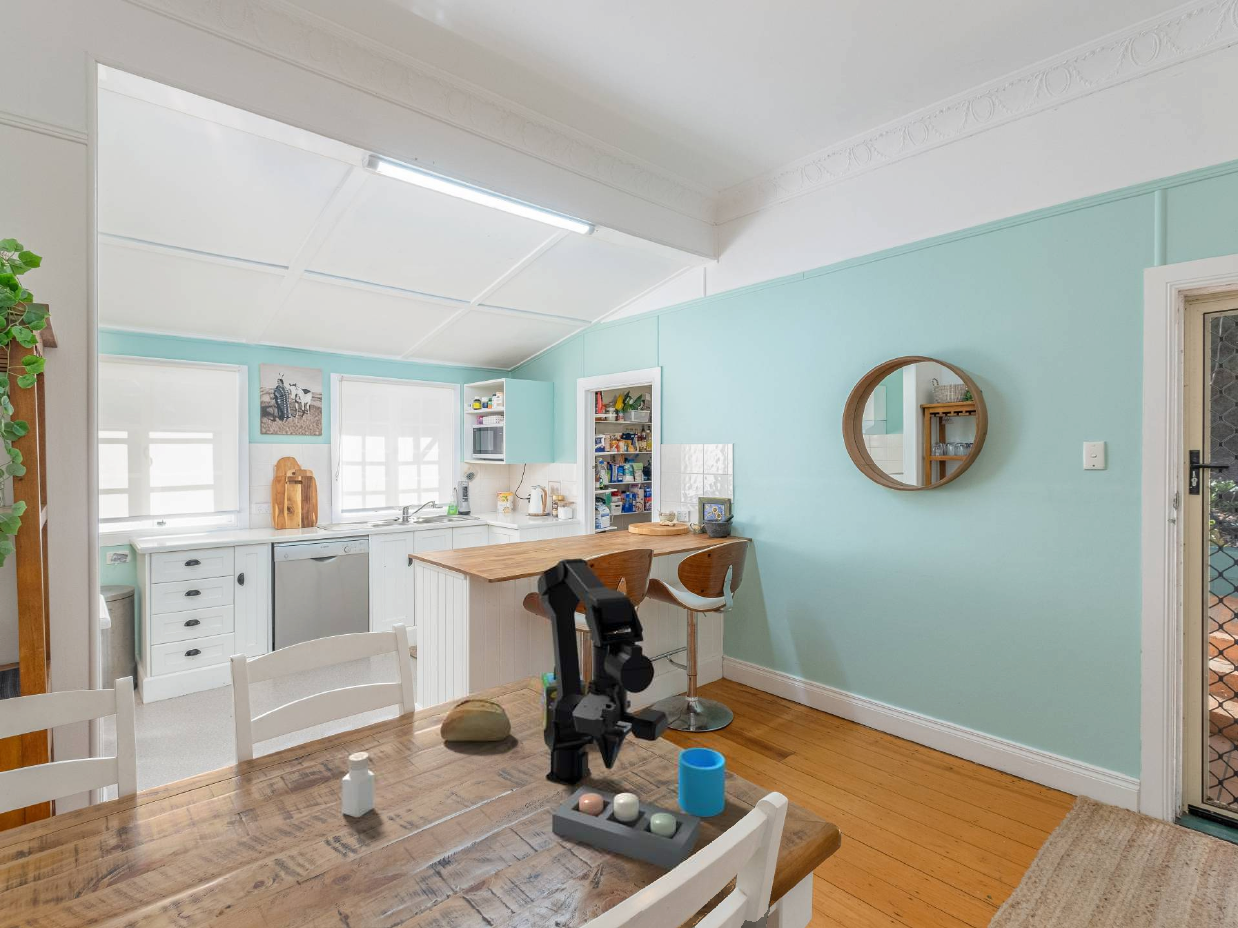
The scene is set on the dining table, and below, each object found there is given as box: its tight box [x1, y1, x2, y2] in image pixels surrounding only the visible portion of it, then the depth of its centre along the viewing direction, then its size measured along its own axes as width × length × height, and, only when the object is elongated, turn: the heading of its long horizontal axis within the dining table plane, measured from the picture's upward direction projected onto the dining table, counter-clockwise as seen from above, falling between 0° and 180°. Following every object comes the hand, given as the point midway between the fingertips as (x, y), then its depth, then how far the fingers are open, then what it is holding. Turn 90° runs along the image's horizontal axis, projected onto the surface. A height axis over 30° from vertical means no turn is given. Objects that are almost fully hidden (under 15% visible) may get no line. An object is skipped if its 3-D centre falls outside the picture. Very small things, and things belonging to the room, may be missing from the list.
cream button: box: [614, 792, 640, 821], centre depth 102 cm, size 4×4×2 cm
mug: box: [677, 747, 726, 818], centre depth 114 cm, size 12×8×8 cm
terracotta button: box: [579, 793, 603, 817], centre depth 105 cm, size 4×4×2 cm
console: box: [551, 785, 701, 871], centre depth 102 cm, size 22×10×3 cm, turn 64°
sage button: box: [651, 813, 676, 839], centre depth 99 cm, size 4×4×2 cm
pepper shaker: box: [341, 751, 376, 818], centre depth 108 cm, size 4×4×10 cm
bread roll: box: [439, 698, 512, 742], centre depth 137 cm, size 10×15×8 cm, turn 100°
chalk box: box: [541, 666, 587, 729], centre depth 142 cm, size 9×9×15 cm
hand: (609, 767), depth 103 cm, fingers closed
